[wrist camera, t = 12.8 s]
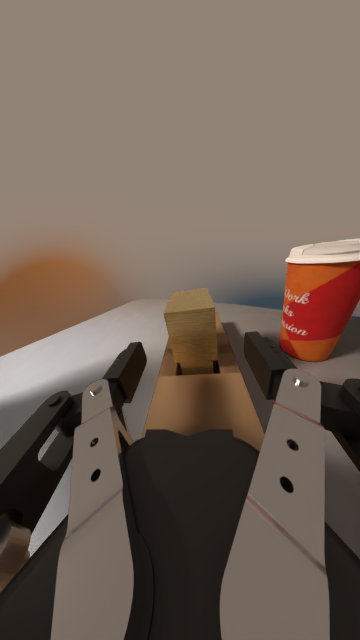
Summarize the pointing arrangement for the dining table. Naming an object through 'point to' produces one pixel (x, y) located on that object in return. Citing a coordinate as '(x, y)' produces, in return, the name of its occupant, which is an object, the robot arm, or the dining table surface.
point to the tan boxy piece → (192, 330)
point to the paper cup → (319, 297)
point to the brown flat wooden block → (204, 398)
